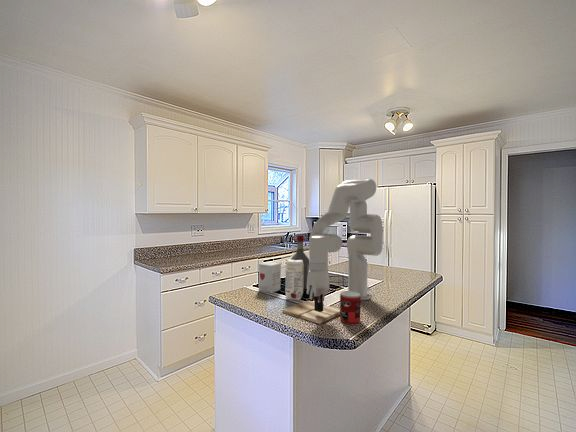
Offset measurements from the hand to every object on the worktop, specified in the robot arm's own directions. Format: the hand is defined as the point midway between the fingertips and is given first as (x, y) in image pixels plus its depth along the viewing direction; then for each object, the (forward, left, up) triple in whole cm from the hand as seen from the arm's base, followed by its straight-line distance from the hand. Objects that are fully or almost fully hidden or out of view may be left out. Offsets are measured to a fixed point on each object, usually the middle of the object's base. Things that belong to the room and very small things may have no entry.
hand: (318, 310), depth 118 cm
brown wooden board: (-4, -11, -3) cm, 12 cm away
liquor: (-30, -35, -3) cm, 46 cm away
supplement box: (-15, -44, -3) cm, 47 cm away
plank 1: (+1, -1, -3) cm, 3 cm away
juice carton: (-14, -25, -3) cm, 29 cm away
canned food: (-7, +11, -3) cm, 13 cm away
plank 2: (-8, -1, -3) cm, 9 cm away
